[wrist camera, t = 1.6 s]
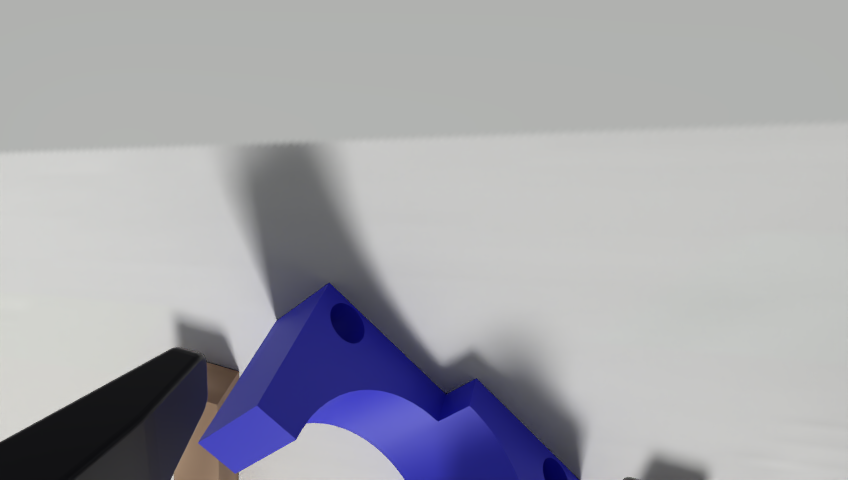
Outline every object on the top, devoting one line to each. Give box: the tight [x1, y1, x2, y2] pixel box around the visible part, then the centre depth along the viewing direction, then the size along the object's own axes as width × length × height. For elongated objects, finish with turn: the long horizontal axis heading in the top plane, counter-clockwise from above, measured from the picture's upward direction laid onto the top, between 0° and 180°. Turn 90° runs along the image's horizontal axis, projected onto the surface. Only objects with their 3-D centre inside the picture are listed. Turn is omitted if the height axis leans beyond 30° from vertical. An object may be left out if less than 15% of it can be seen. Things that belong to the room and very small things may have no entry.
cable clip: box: [198, 283, 579, 480], centre depth 24 cm, size 12×4×6 cm, turn 44°
